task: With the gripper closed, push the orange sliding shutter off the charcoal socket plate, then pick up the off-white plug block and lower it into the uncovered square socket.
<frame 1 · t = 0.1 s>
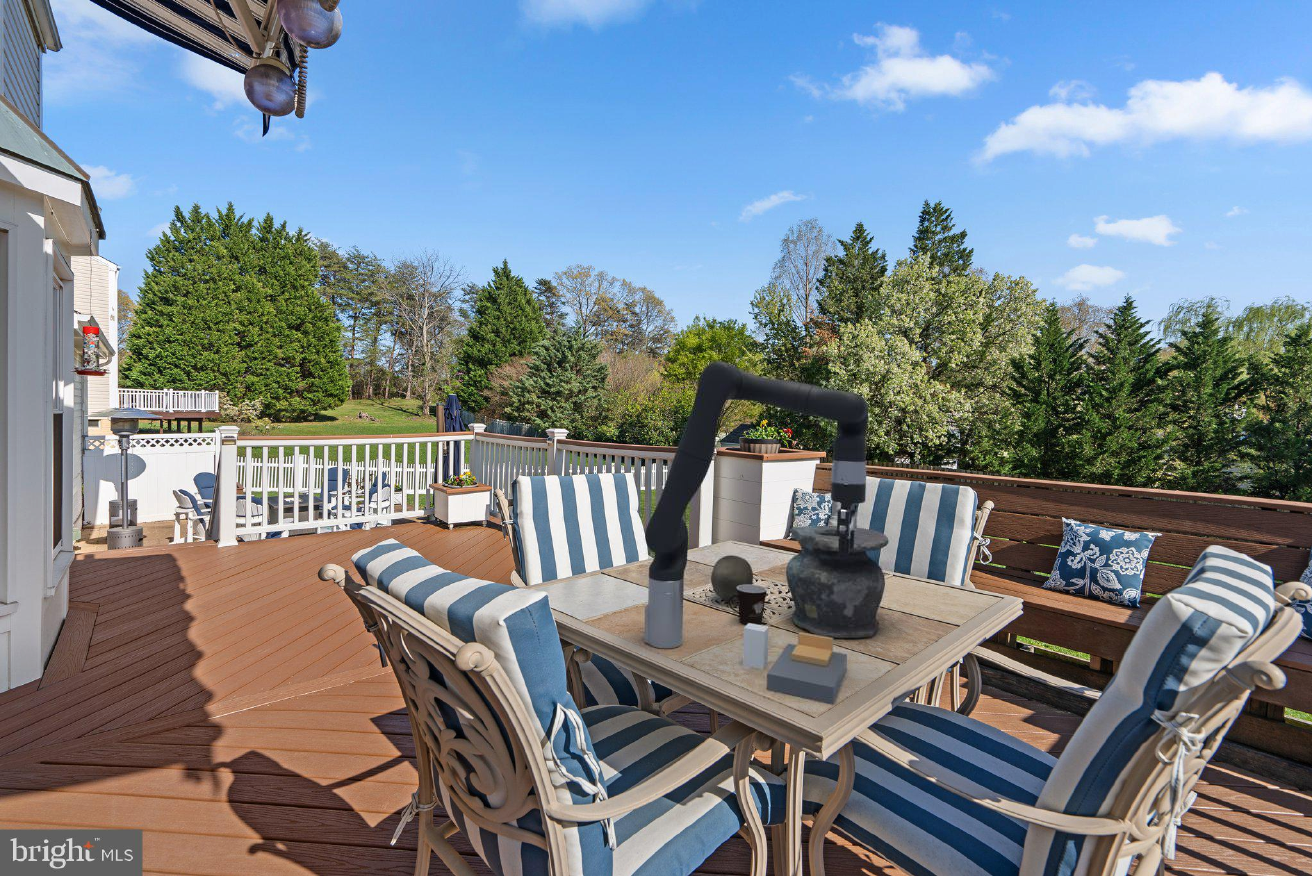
hand: (846, 551, 132), 29 cm above the table, tool pointing down, fingers open, 8 cm apart
plug: (755, 664, 139), on the table
grey stone ball: (731, 602, 189), on the table
socket plate: (808, 678, 132), on the table
shutter: (812, 648, 135), point 6 cm above the table, slide at 0.0 cm
clay pot: (832, 625, 169), on the table
coffee mug: (745, 623, 169), on the table
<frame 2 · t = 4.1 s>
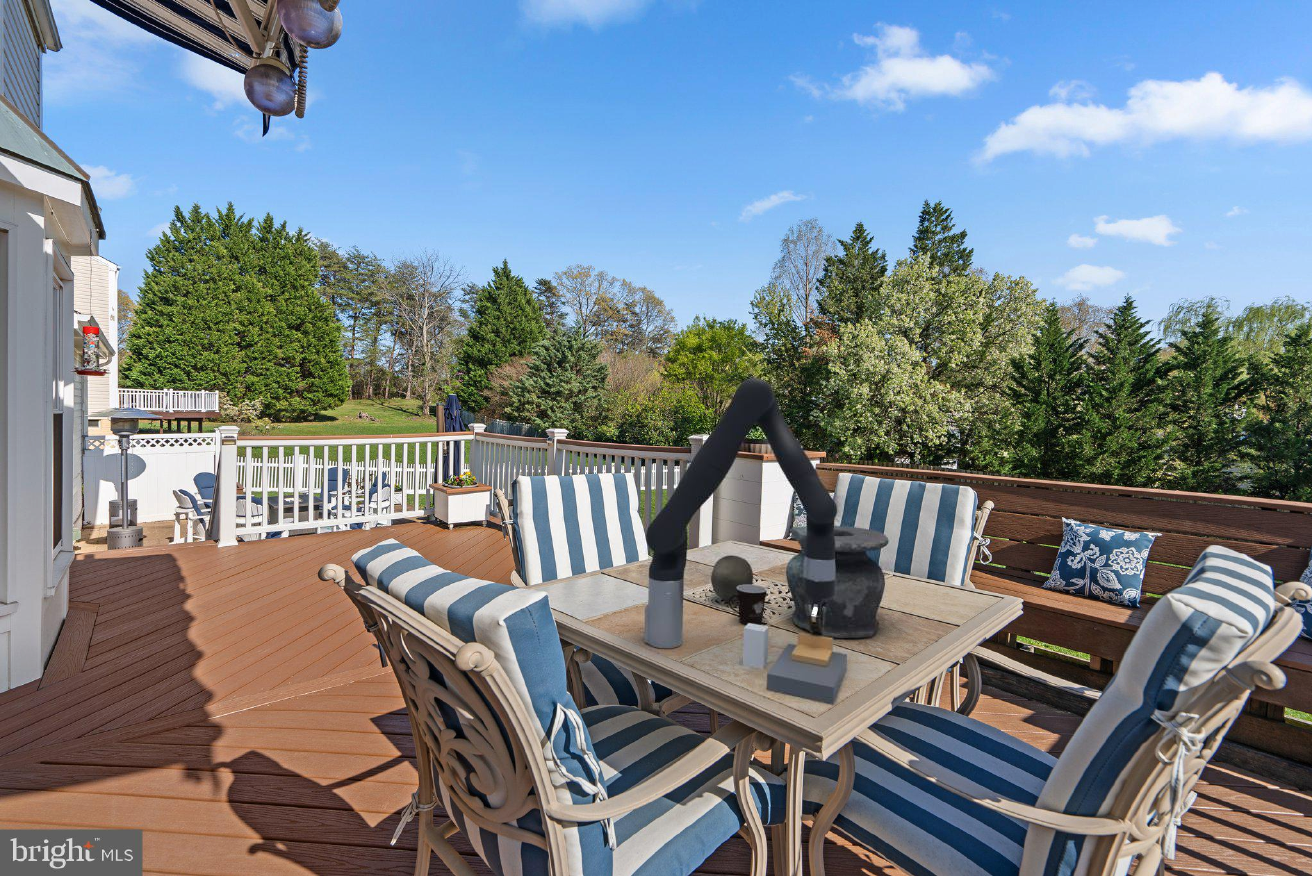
hand: (817, 646, 141), 4 cm above the table, tool pointing down, fingers closed
shutter: (812, 648, 135), point 6 cm above the table, slide at 0.1 cm, touching gripper
everything else where it was.
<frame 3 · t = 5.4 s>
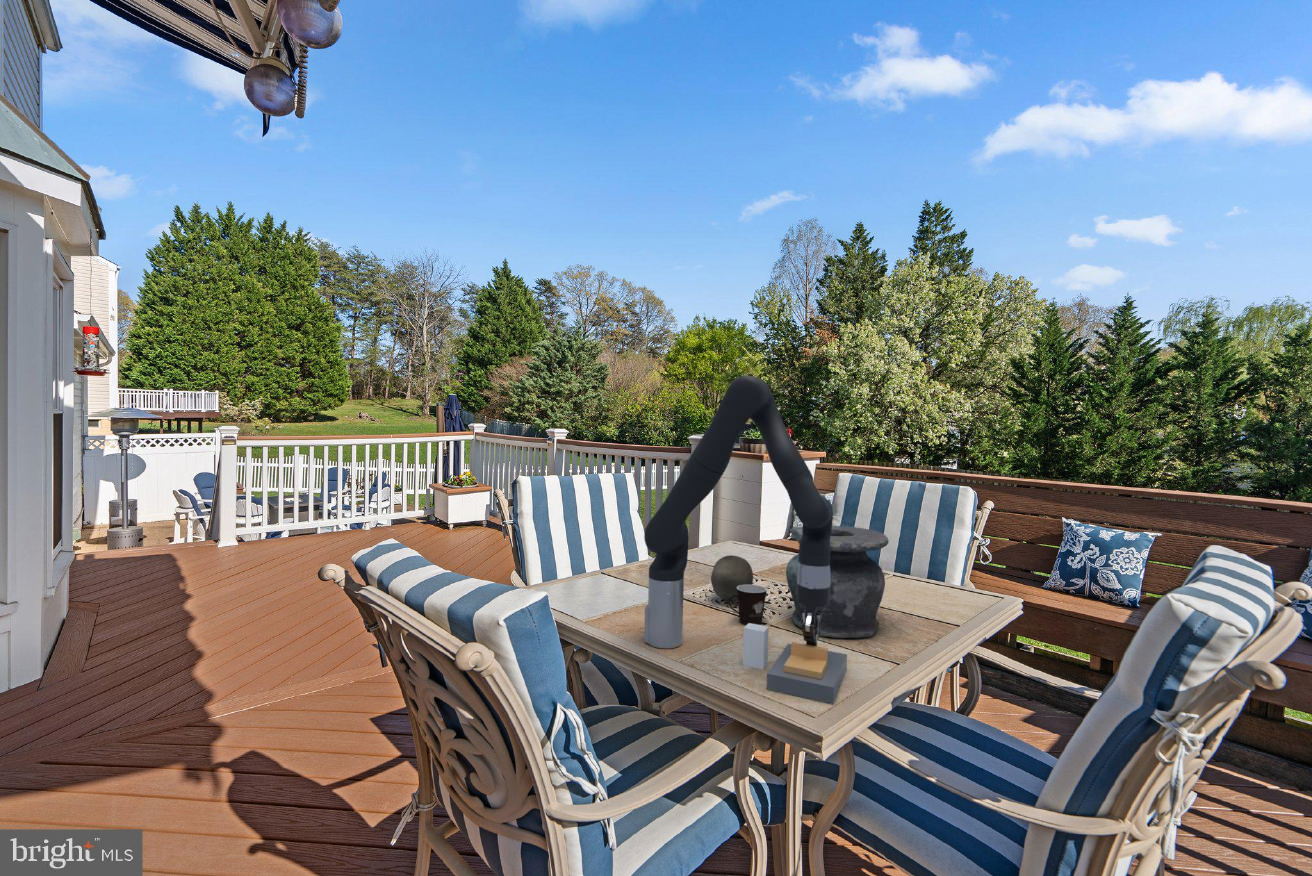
hand: (811, 656, 135), 4 cm above the table, tool pointing down, fingers closed
shutter: (806, 659, 129), point 6 cm above the table, slide at 7.5 cm, touching gripper
everything else where it was.
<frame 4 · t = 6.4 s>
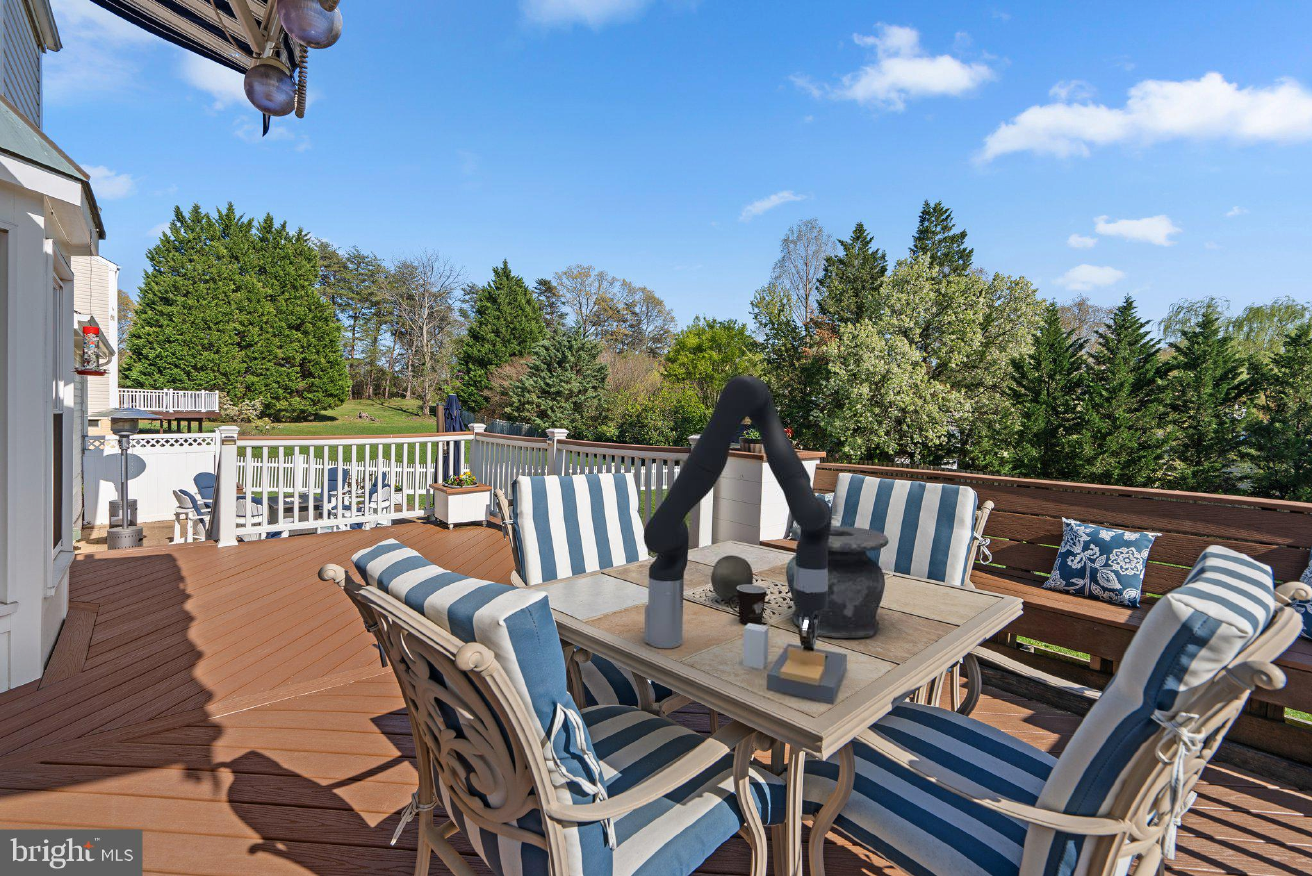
hand: (808, 661, 132), 4 cm above the table, tool pointing down, fingers closed
shutter: (802, 665, 126), point 6 cm above the table, slide at 10.8 cm, touching gripper
everything else where it was.
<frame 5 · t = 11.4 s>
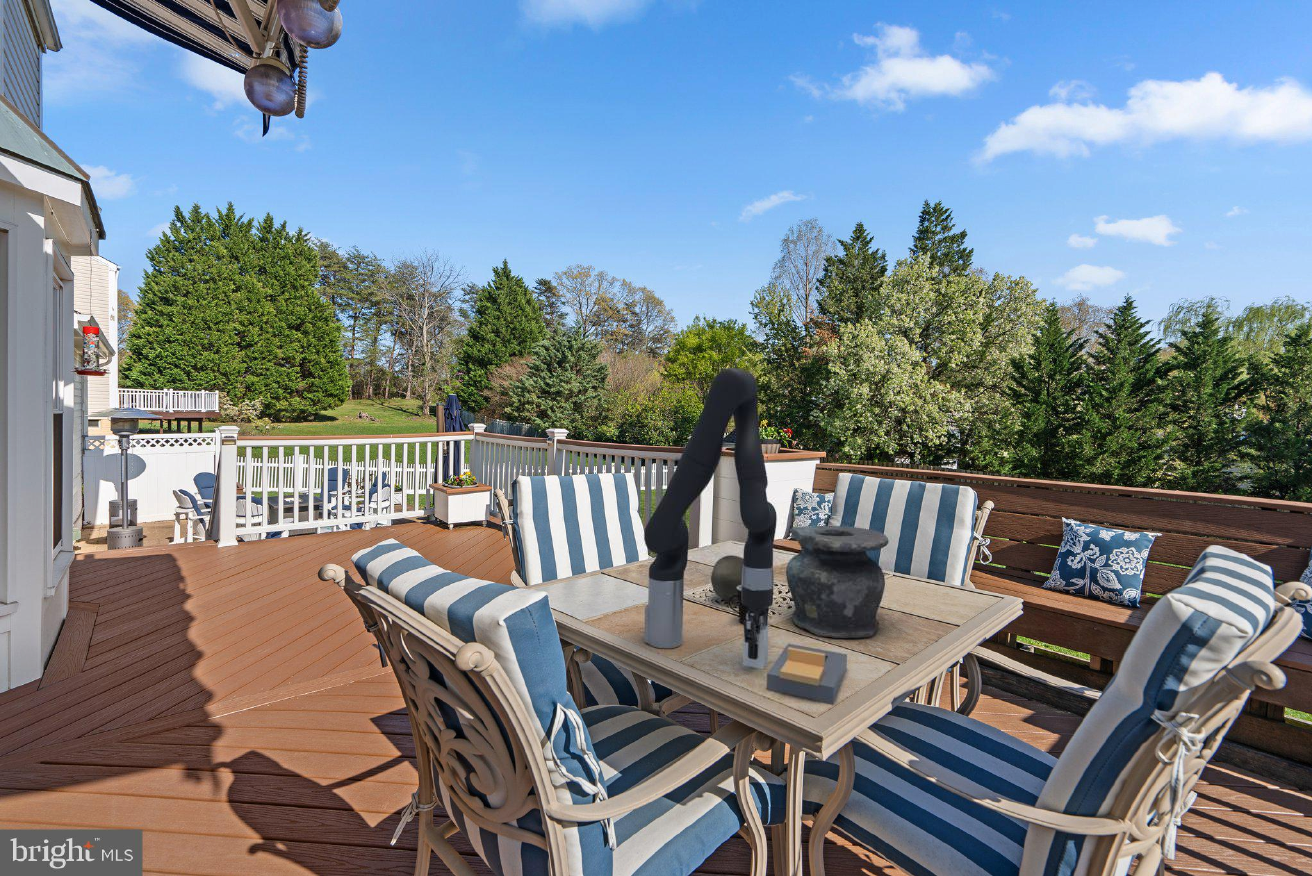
hand: (755, 654, 139), 2 cm above the table, tool pointing down, fingers closed on plug, 4 cm apart
plug: (755, 664, 139), on the table, touching gripper
shutter: (802, 665, 126), point 6 cm above the table, slide at 10.9 cm
everything else where it was.
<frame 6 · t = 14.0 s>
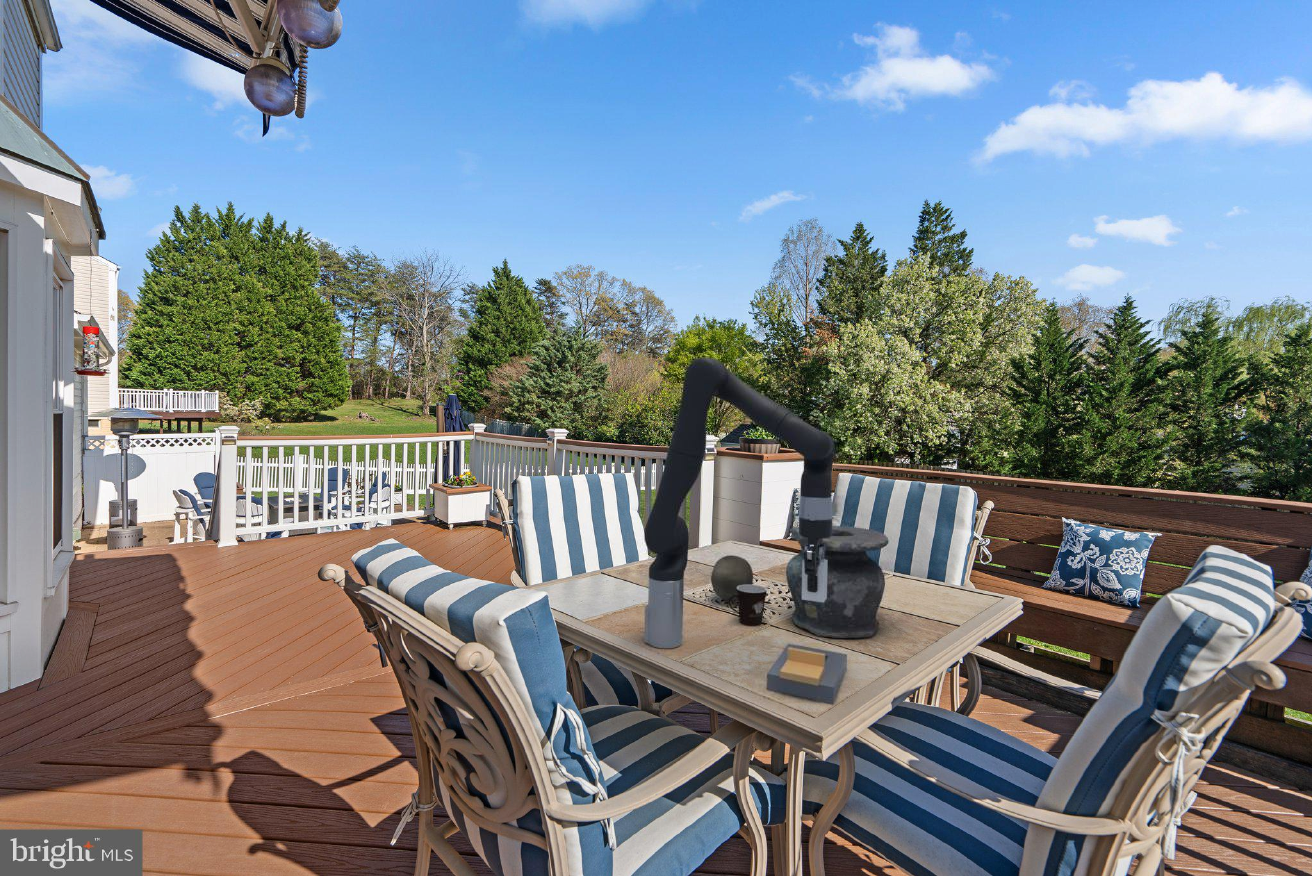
hand: (814, 589, 135), 20 cm above the table, tool pointing down, fingers closed on plug, 4 cm apart
plug: (814, 598, 135), point 17 cm above the table, touching gripper
everything else where it was.
when the fingers open (4 cm above the table, at t = 16.9 s): plug drops 2 cm, resting in socket plate.
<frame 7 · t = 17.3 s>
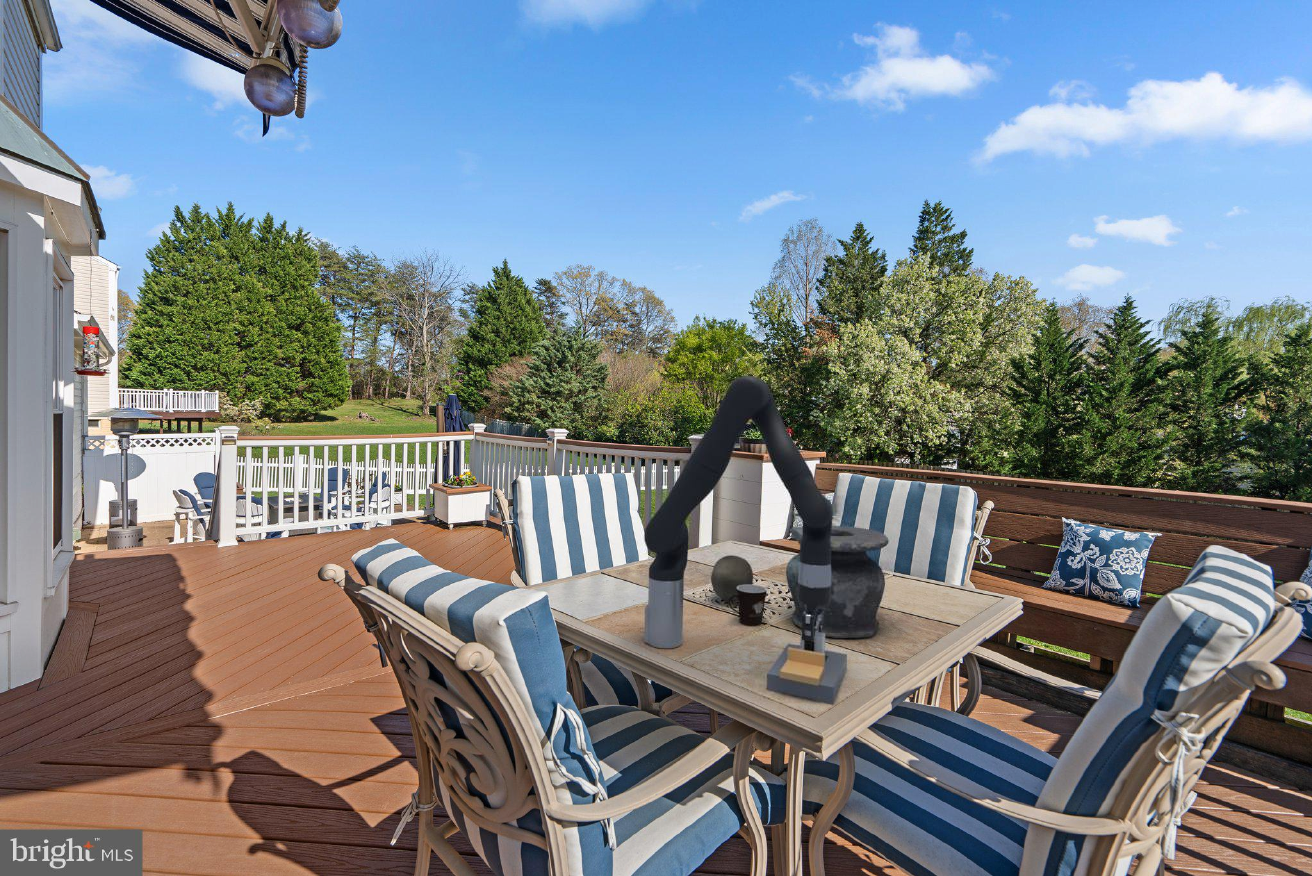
hand: (812, 651, 135), 5 cm above the table, tool pointing down, fingers open, 8 cm apart
plug: (811, 672, 136), resting in socket plate
everything else where it was.
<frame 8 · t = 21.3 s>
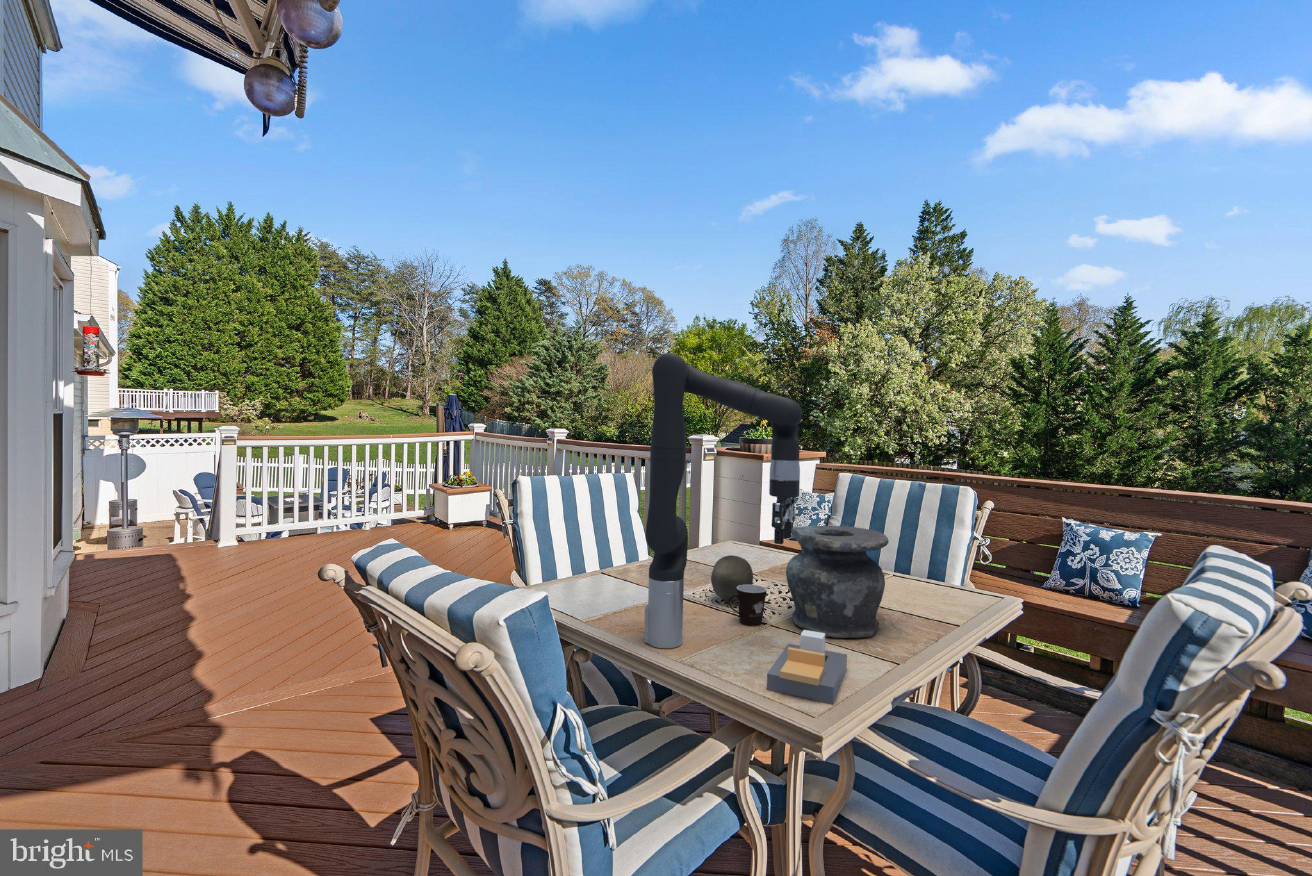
hand: (782, 540, 148), 28 cm above the table, tool pointing down, fingers open, 8 cm apart
nothing on the table moved.
at the end: shutter slide at 10.9 cm; plug 0.0 cm from the target spot on the socket plate, point 0.0 cm above the socket plate's base; plug tilted 0° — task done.
